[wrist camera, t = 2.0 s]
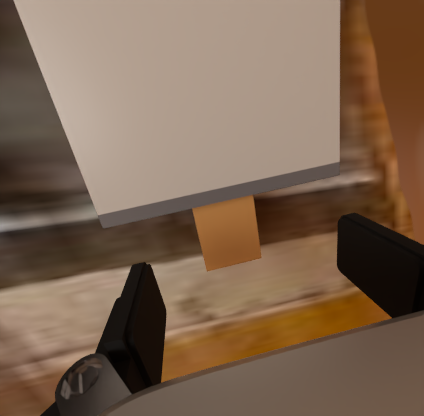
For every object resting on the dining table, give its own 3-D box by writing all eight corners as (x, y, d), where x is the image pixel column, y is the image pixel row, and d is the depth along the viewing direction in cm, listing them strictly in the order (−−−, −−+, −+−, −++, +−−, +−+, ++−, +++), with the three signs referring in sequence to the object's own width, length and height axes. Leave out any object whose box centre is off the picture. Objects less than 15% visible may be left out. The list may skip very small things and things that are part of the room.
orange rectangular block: (218, 90, 17) (235, 67, 12) (240, 225, 21) (261, 257, 15) (168, 99, 17) (162, 80, 11) (200, 235, 21) (207, 271, 15)
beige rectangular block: (265, -6, 17) (340, -135, 9) (279, 161, 21) (339, 175, 13) (79, 24, 16) (-22, -90, 8) (134, 192, 20) (102, 228, 12)
